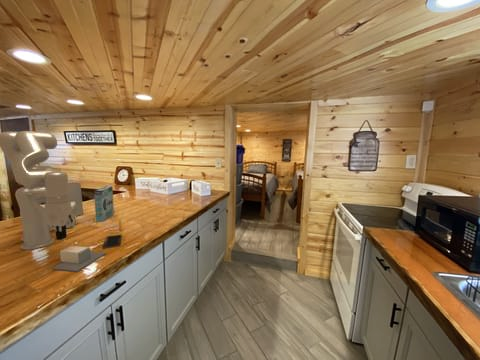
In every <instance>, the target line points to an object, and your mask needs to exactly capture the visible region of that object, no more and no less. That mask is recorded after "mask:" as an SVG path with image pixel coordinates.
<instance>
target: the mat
mask: <svg viewBox="0 0 480 360" xmlns="http://www.w3.org/2000/svg"><path fill="white" fill-rule="evenodd" d="M90 253H91V258H89V259H88V260H86V261H84V262H83V263H71V262H61V263H59V264H57V265H55V266H54V267H52V268H51V270H52V271H61V270H62V272H74V273H78V272H80V271H82V270H83V269H85V268H86V267H88V266H89V265H91V264H92V263H94V262H96V261H97V260H100V259H101V258H103V257H104V256H106V255H107V252H101V251H91V250H90Z"/></svg>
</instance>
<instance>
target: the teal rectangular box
mask: <svg viewBox="0 0 480 360" xmlns="http://www.w3.org/2000/svg"><path fill="white" fill-rule="evenodd" d="M113 194H114V193H113V186H112V185H105V186H103V187H100V188H98V189H95V190H94V191H93V196H94V197H93V198H94V211H95V214H94V215H95V222H96V223H101V222H105V221H107V220H108V219H109V218H110V217H112V215H114V214H115V207H114V195H113Z"/></svg>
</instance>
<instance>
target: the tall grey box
mask: <svg viewBox="0 0 480 360" xmlns="http://www.w3.org/2000/svg"><path fill="white" fill-rule="evenodd" d="M81 184H82V183H81V182H68V188H69V200H70V202H75V203H76V206H75V215H76V217H79V215H80V216H81V215H83V214H84V206H83V197H82V196H83V195H82V185H81Z"/></svg>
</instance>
